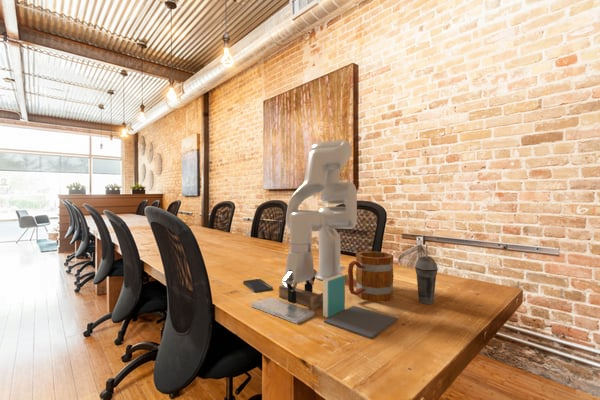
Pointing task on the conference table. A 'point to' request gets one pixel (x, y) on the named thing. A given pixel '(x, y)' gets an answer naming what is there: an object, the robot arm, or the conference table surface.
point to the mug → (372, 276)
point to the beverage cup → (426, 278)
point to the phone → (257, 285)
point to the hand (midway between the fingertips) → (300, 299)
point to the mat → (361, 321)
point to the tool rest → (283, 310)
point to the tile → (333, 295)
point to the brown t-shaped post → (304, 297)
